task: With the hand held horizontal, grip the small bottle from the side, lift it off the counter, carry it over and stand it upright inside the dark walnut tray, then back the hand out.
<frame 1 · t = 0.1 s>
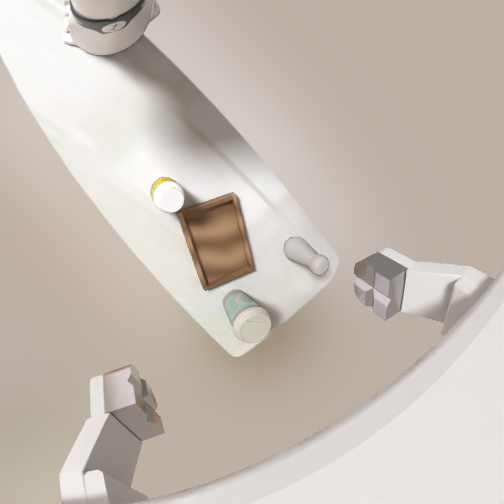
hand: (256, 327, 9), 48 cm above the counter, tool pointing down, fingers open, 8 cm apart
supplement bottle: (164, 190, 52), on the counter
tray: (216, 241, 61), on the counter
salt shaker: (290, 245, 69), on the counter
coffee cup: (233, 299, 69), on the counter
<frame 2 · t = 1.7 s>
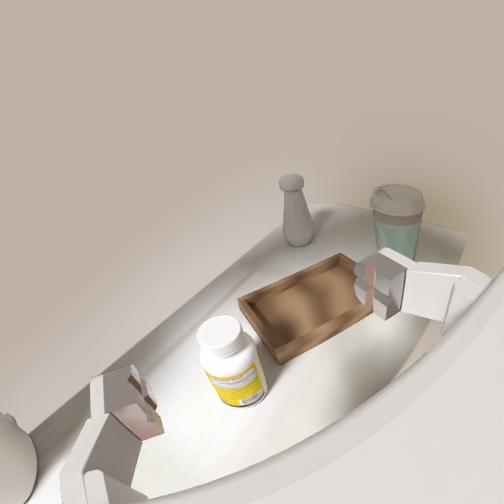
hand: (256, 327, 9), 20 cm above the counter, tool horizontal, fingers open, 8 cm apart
supplement bottle: (243, 391, 29), on the counter
tray: (316, 305, 38), on the counter
salt shaker: (300, 242, 55), on the counter
coffee cup: (395, 263, 43), on the counter
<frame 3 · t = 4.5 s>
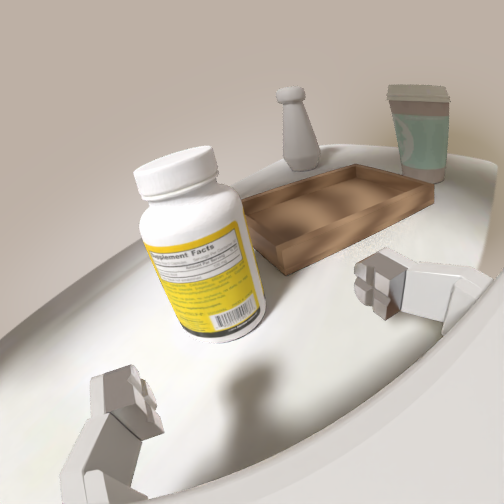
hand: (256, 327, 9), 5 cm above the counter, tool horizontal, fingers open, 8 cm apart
supplement bottle: (224, 317, 18), on the counter
tray: (333, 211, 27), on the counter
salt shaker: (304, 169, 44), on the counter
coffee cup: (423, 178, 32), on the counter
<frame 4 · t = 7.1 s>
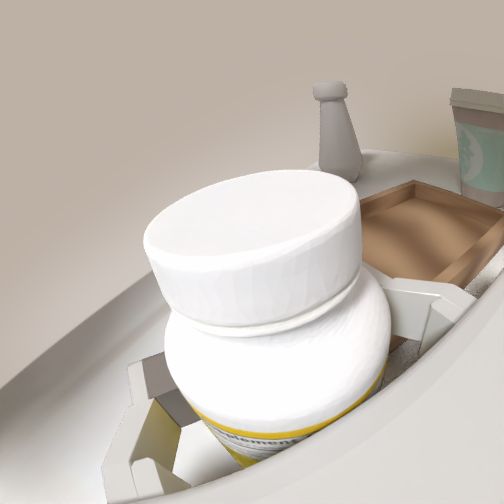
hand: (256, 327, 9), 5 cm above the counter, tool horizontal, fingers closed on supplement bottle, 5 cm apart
supplement bottle: (299, 436, 10), on the counter, touching gripper
tray: (406, 248, 19), on the counter
salt shaker: (342, 180, 36), on the counter
coffee cup: (483, 199, 24), on the counter
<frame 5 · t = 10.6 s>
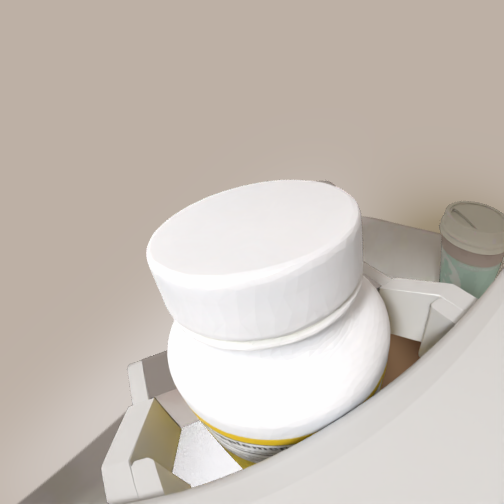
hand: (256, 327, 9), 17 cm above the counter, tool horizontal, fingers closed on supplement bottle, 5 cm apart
supplement bottle: (299, 438, 10), point 12 cm above the counter, touching gripper
tray: (364, 387, 23), on the counter
coffee cup: (457, 308, 27), on the counter
when the fingers open (6 cm above the counter, at t = 14.3 s): supplement bottle stays where it is, resting on tray.
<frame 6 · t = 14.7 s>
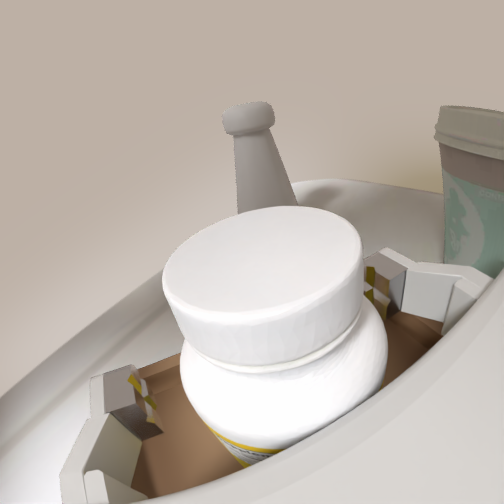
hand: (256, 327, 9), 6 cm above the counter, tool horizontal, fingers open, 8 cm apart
supplement bottle: (302, 443, 10), resting on tray
tray: (290, 430, 11), on the counter
salt shaker: (273, 242, 28), on the counter
coffee cup: (476, 288, 16), on the counter
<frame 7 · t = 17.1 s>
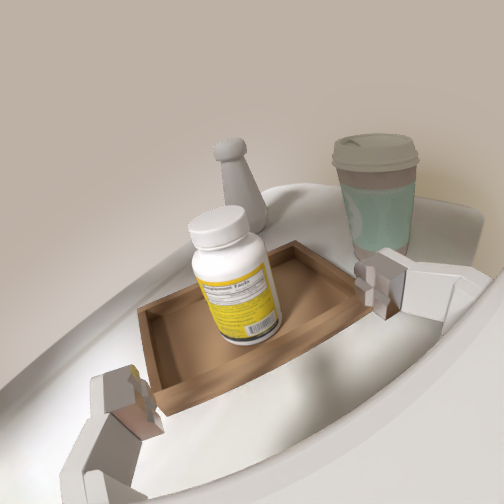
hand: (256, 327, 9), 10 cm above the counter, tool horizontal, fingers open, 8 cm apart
supplement bottle: (251, 325, 24), resting on tray
tray: (246, 321, 25), on the counter
salt shaker: (251, 230, 41), on the counter
coffee cup: (380, 253, 29), on the counter
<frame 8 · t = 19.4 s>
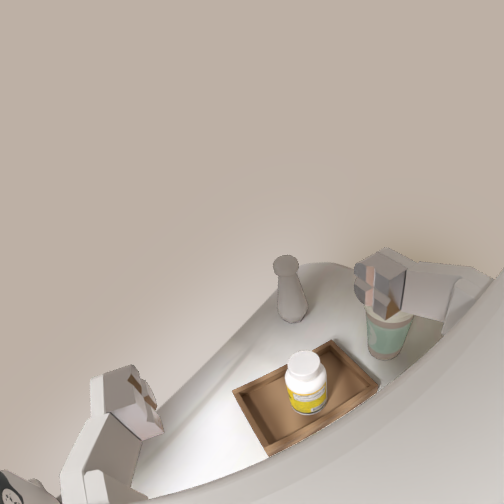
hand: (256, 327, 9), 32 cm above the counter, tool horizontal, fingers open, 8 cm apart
supplement bottle: (308, 401, 37), resting on tray
tray: (304, 398, 38), on the counter
salt shaker: (294, 316, 55), on the counter
coffee cup: (384, 347, 43), on the counter
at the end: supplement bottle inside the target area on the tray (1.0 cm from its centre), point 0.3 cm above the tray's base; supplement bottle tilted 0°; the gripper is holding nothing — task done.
